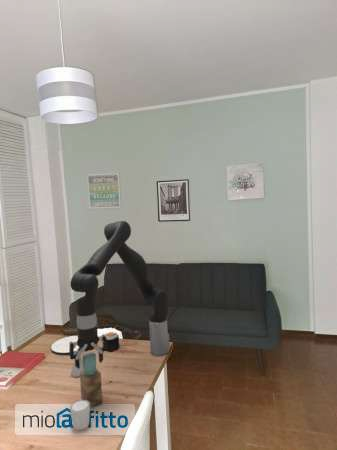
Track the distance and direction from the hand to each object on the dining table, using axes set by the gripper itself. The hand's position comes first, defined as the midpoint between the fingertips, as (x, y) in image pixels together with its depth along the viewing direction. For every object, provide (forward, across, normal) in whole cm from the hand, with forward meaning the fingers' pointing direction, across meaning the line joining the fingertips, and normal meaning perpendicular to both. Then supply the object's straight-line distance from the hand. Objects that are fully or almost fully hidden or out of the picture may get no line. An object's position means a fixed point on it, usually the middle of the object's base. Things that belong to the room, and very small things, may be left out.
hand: (89, 364), depth 122 cm
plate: (+16, 0, -55) cm, 57 cm away
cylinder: (+3, 0, 0) cm, 3 cm away
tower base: (+15, 0, 0) cm, 15 cm away
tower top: (+9, 0, 0) cm, 9 cm away
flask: (+15, +1, -24) cm, 29 cm away
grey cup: (+15, +6, +11) cm, 20 cm away
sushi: (+15, -19, -41) cm, 48 cm away
